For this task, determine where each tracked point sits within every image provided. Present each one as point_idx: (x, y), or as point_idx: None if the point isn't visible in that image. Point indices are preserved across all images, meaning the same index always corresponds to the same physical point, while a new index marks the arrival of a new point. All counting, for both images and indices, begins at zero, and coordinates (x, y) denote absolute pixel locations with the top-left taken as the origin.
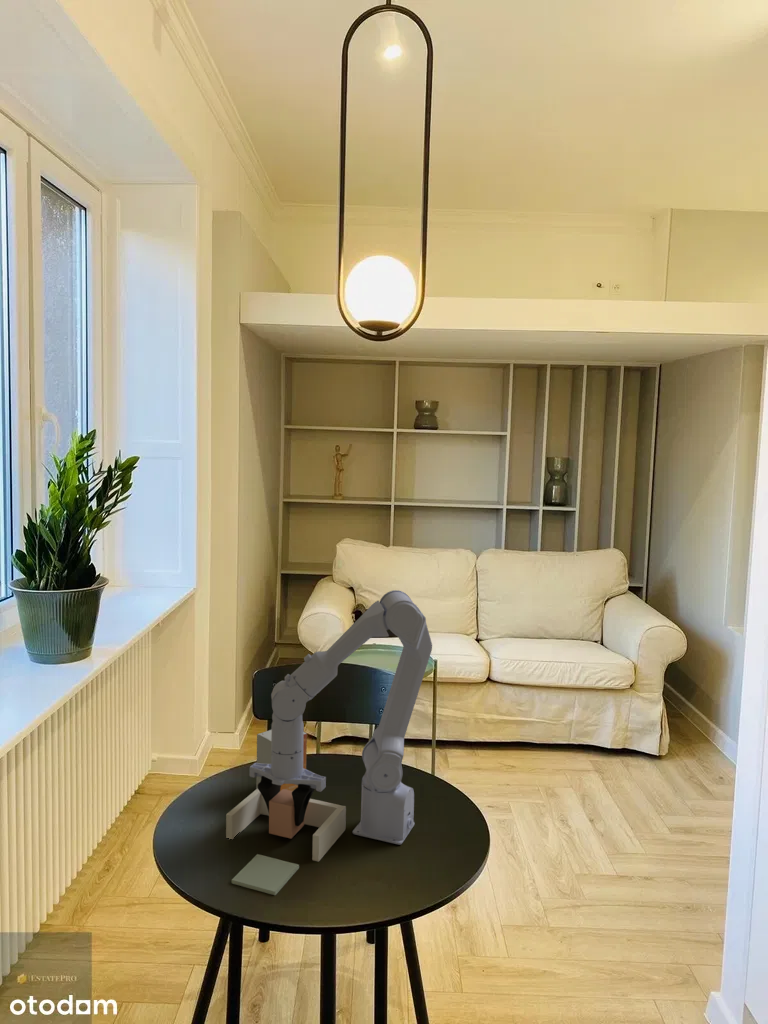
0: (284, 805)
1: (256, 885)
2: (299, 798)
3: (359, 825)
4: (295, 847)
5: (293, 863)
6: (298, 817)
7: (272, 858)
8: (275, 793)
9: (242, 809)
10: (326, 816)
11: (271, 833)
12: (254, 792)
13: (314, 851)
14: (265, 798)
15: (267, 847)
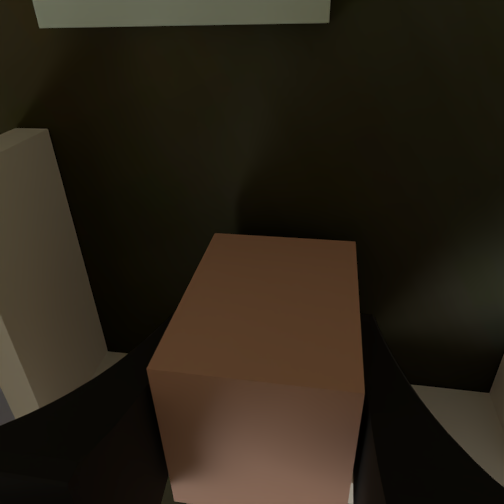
0: (212, 371)
1: None
2: (32, 430)
3: None
4: (186, 200)
5: (70, 24)
6: (158, 329)
7: (212, 20)
8: (360, 483)
9: None
10: None
11: (339, 242)
12: None
13: (4, 142)
14: (420, 422)
15: (322, 148)
